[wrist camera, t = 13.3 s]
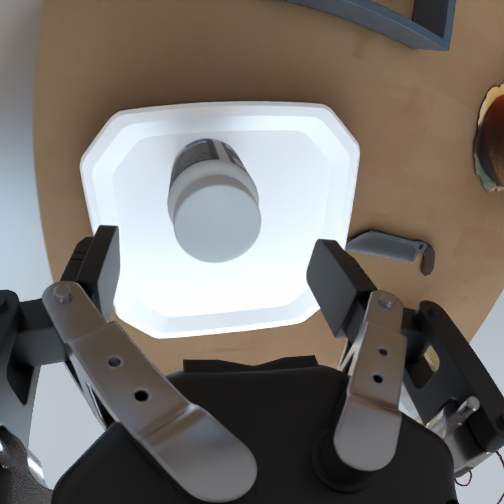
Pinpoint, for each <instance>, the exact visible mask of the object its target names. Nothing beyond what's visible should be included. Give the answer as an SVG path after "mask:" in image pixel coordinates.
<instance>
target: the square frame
mask: <svg viewBox="0 0 504 504" xmlns="http://www.w3.org/2000/svg"><path fill="white" fill-rule="evenodd" d="M283 1H287V2H291V3H295V4H298V5H302V6H306V7H309V8H313V9H316V10H319V11H322V12H325V13H329V14H332V15H335V16H337V17H340V18H343V19H346V20H349V21H351V22H354V23H357V24H359V25H362V26H364V27H367V28H369V29H372V30H374V31H376V32H379V33H381V34H383V35H386V36H388V37H390V38H392V39H395V40H397V41H399V42H401V43H403V44H405V45H407V46H409V47H411V48H413V49H423V50H438V51H449V47H450V41H451V35H452V28H453V20H454V12H455V3H456V0H415V6H414V13H413V19H412V21H411V20H410V19H408V18H406V17H404V16H402V15H400V14H398V13H396V12H394V11H392V10H390V9H388V8H385V7H383V6H381V5H379V4H377V3H374V2H372V1H370V0H283Z"/></svg>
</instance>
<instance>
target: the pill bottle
mask: <svg viewBox="0 0 504 504" xmlns="http://www.w3.org/2000/svg"><path fill="white" fill-rule="evenodd" d="M167 206H168V213H169V216H170V219H171V222H172V224H173V226H174V233H175V237H176V239H177V242H178V243H179V245H180V247H181V248H182V249H183V250H184V251H185V252H186V253H187V254H188V255H190V256H191V257H193V258H195V259H197V260H200V261H202V262H206V263H223V262H228V261H231V260H234V259H236V258H238V257H240V256H242V255H243V254H244V253H246V252H247V251H248V250H249V249H250V248H251V247H252V246H253V244H254V243H255V241H256V240H257V238H258V236H259V233H260V229H261V214H260V210H259V207H258V206H259V197H258V191H257V188H256V185H255V183H254V181H253V180H252V178H251V176H250V175H249V173H248V171H247V170H246V168H245V167H244V165H243V163H242V162H241V160H240V158H239V156H238V155H237V153H236V152H235V151H234V149H233V148H232V147H231V146H229V145H228V144H226V143H225V142H223V141H220V140H217V139H212V138H202V139H198V140H195V141H192V142H190V143H189V144H187V145H186V146H184V147H183V148H182V149H181V150H180V151H179V153H178V154H177V156H176V158H175V160H174V162H173V166H172V172H171V179H170V186H169V194H168V200H167Z"/></svg>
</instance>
